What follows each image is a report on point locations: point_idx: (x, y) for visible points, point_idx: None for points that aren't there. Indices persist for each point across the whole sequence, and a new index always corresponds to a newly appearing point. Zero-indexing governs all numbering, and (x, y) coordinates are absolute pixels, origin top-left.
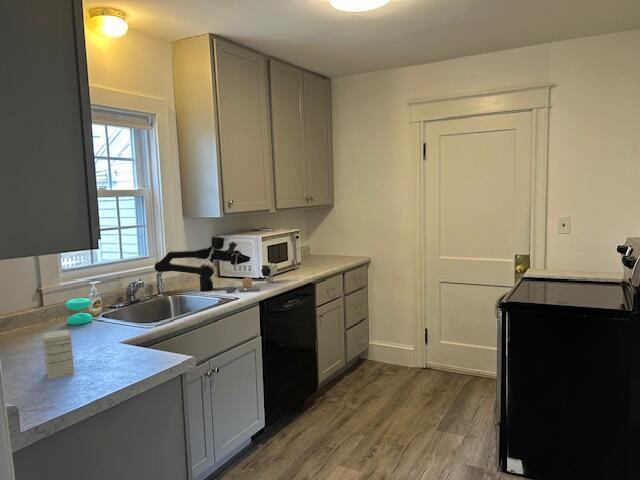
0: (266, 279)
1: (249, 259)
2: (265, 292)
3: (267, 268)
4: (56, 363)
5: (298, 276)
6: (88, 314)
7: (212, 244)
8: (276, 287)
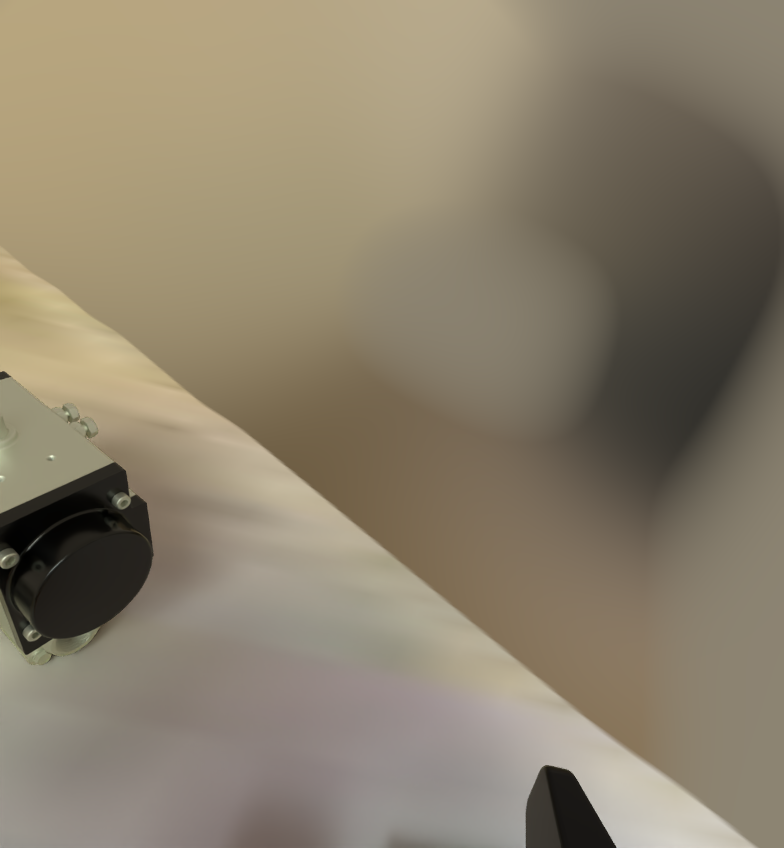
0: (55, 639)
1: (572, 780)
2: (682, 815)
3: (118, 518)
4: None
5: None
6: None
7: None
8: (413, 632)
